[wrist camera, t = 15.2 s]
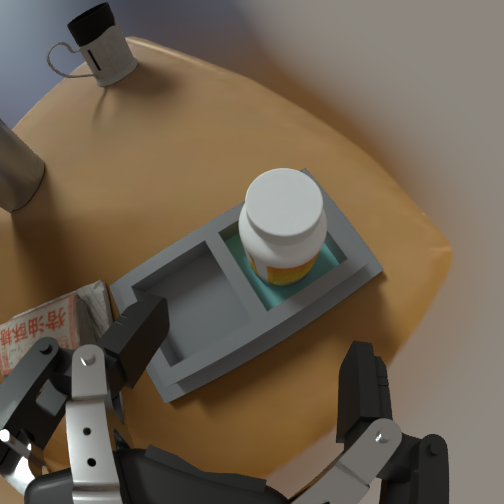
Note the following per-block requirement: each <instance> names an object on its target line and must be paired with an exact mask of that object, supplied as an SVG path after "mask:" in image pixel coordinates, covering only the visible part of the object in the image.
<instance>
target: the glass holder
mask: <svg viewBox="0 0 504 504" xmlns="http://www.w3.org/2000/svg"><path fill="white" fill-rule="evenodd" d="M67 27H68V29H69V30H70V32H71V34H72V36H73V37H74V39H75V41H76V43H77V45H78V50H76V51H73V50H72V49H71V47H70V46H69V45H68V44H66V43H65V42H59V43H56V44H54V45H53V46H52V47H51V48H50V50H49V51H48V53H47V62H48V64H49V66H50V67H51V68H52V70H53V71H55V72H56V73H57V74H59V75H61V76H64V77H67V78H76V77H88V76H94V77H95V79H96V80H97V81H96V82H97V85H98V86H100V87H103V86H108V85H111V84H113V83H115V82H117V81H119V80H121V79H123V78H124V77H126V76H127V75H128V74H130V73H131V72H132V71H133V70H134V69H135V68H136V66H137V64H138V60H137V59H136V58H134V57H133V55H132V53H131V51H130V49H129V46H128V44H127V42H126V40H125V38H124V35H123V33H122V31H121V29H120V26H119V24H118V22H117V20H116V18H115V16H114V13H112V11H111V9H110V7H109V4H108V2H105V3H102V4H100V5H97V6H95V7H93V8H91V9H89V10H87V11H86V12H84V13H82V14H81V15H79V16H78V17H76V18H75V19H74V20H72V21H71V22H70V23H69V24H68V25H67ZM59 44H62V45H65V46H66V47H67V48H68V49H69V51H70V52H71V53H76V52H78V51H80V52H81V54H82V55H83V57H84V59H85V61H86V62H87V64H88V66H89V67H90V69H91V71H92V72H93V74H87V75H77V76H71V75H66V74H63V73H61V72H59V71H58V70H56V69H55V68H54V67H53V65H52V64H51V62H50V60H49V54H50V52H51V50H52V49H53V48H54V47H55V46H56V45H59Z"/></svg>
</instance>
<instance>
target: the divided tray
mask: <svg viewBox="0 0 504 504" xmlns="http://www.w3.org/2000/svg"><path fill="white" fill-rule="evenodd" d="M299 172H302V173H304V174H306V175H307V176H309V177H310V178H311V179H312V180H313V181H314V182H315V183H316V184H317V186H318V187H319V189H320V191H321V194H322V197H323V209H324V211H325V214H326V218H327V233H326V238H325V241H324V244H323V246H322V248H321V250H320V252H319V255H318V256H317V258H316V260H315V262H314V265H313V267H312V269H311V270H310V272H309V273H308V275H307V276H306V277H305V278H304V279H303V280H302V281H300V282H299V283H297V284H295V285H292V286H288V287H275V286H271V285H268V284H266V283H264V282H263V281H261V280H260V279H259V278H258V277H257V276H256V275H255V274H254V272H253V270H252V269H251V267H250V264H249V261H248V258H247V255H246V252H245V250H244V247H243V244H242V241H241V238H240V233H239V217H240V213H241V210H242V208H243V206H244V204H245V201H244V202H242V203H240V204H238V205H237V206H235V207H233V208H232V209H230V210H228V211H226V212H225V213H223V214H221V215H220V216H218V217H216V218H215V219H213V220H211V221H210V222H208V223H206V224H205V225H203V226H201V227H200V228H198V229H196V230H195V231H193V232H191V233H190V234H188V235H186V236H185V237H183V238H182V239H180V240H178V241H177V242H175V243H174V244H172V245H170V246H169V247H167V248H166V249H164V250H162V251H161V252H159V253H158V254H156V255H155V256H153V257H152V258H150V259H148V260H147V261H145V262H144V263H142V264H141V265H139V266H138V267H136V268H135V269H133V270H132V271H130V272H129V273H127V274H126V275H124V276H123V277H121V278H120V279H118V280H117V281H116V282H115V283H113V284H112V285H110V286H109V287H110V290H111V293H112V295H113V298H114V300H115V303H116V305H117V308H118V310H119V313H120V315H121V314H122V312H123V311H124V310H125V309H126V308H127V307H128V306H130V305H132V304H134V303H135V302H137V301H138V302H142V301H143V300H144V299H145V297H146V296H147V295H148V294H154V295H157V296H161V297H164V298H166V299H167V303H168V312H169V321H170V328H169V332H168V335H167V336H166V338H165V340H164V341H163V343H162V344H161V346H160V347H159V349H158V350H157V352H156V353H155V355H154V356H153V358H152V359H151V361H150V362H149V364H148V366H147V367H146V370H147V372H148V374H149V376H150V378H151V380H152V382H153V383H154V385H155V387H156V389H157V391H158V392H159V394H160V396H161V397H162V399H163V401H164V403H165V404H166V403H168V402H170V401H172V400H175V399H177V398H179V397H181V396H183V395H185V394H187V393H189V392H191V391H193V390H195V389H197V388H199V387H201V386H203V385H205V384H207V383H209V382H211V381H213V380H215V379H217V378H218V377H220V376H222V375H224V374H226V373H228V372H230V371H231V370H233V369H235V368H237V367H239V366H240V365H242V364H244V363H246V362H247V361H249V360H251V359H253V358H254V357H256V356H258V355H259V354H261V353H263V352H264V351H266V350H268V349H269V348H271V347H273V346H274V345H276V344H278V343H279V342H281V341H283V340H284V339H286V338H287V337H289V336H290V335H292V334H294V333H295V332H297V331H298V330H300V329H301V328H303V327H304V326H306V325H307V324H309V323H310V322H312V321H313V320H315V319H316V318H318V317H319V316H321V315H322V314H324V313H325V312H327V311H328V310H330V309H331V308H332V307H334V306H335V305H337V304H338V303H340V302H341V301H342V300H344V299H345V298H347V297H348V296H349V295H351V294H352V293H353V292H355V291H356V290H357V289H359V288H360V287H361V286H363V285H364V284H365V283H367V282H368V281H369V280H371V279H372V278H373V277H375V276H376V275H377V274H378V273H380V272H381V271H382V270H384V269H383V268H382V266H381V265H380V263H379V262H378V260H377V259H376V257H375V256H374V255H373V253H372V252H371V250H370V249H369V248H368V246H367V245H366V243H365V242H364V241H363V239H362V238H361V237H360V235H359V234H358V233H357V231H356V230H355V229H354V227H353V226H352V225H351V223H350V222H349V221H348V219H347V218H346V217H345V216H344V214H343V213H342V212H341V210H340V209H339V208H338V207H337V205H336V204H335V203H334V202H333V200H332V199H331V198H330V197H329V195H328V194H327V193H326V192H325V191H324V189H323V188H322V187H321V186H320V185H319V183H318V182H317V181H316V180H315V179H314V178H313V176H312V175H311V174H310V173H309V172H308V171H307V169H306V168H305V169H303V170H301V171H299Z"/></svg>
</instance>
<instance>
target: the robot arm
mask: <svg viewBox="0 0 504 504" xmlns="http://www.w3.org/2000/svg"><path fill="white" fill-rule="evenodd" d="M43 173H44V162H43V160H42V159H41V158H40V157H39V156H38V155H37V154H36V153H34V152H33V151H32V150H31V149H30V148H29V147H28V146H27V145H26V144H25V143H24V142H23V141H22V140H21V139H20V138H19V137H18V136H17V135H16V134H15V133H14V132H13V131H12V130H11V129H10V128H9V127H8V126H7V125H6V124H5V123H4V122H3V121H2V120H1V119H0V207H1V208H3V209H4V210H6V211H8V212H9V213H11V212H12V211H13V210H16V209H19V208H21V207H23V206H24V205H25V204H26V203H27V202H28V201H29V200H30V198H31V197H32V196H33V194H34V193H35V191H36V189H37V188H38V186H39V184H40V182H41V179H42V176H43ZM169 328H170V321H169V312H168V303H167V299H166V298H164V297H161V296H157V295H154V294H148V295H147V296H146V297H145V299H144V300H143V301H142V302H138V301H137V302H135V303H134V304H132V305H130V306H128V307H127V308H126V309H125V310H124V311H123V312H122V314H121V316H119V317H118V318H117V319H116V321H115V322H114V323H113V324H112V325H111V326H110V327H109V328H108V329H107V331H106V332H105V333H104V334H103V335H102V336H101V338H100V339H99V340H98V341H97V342H96V343H95V344H94V345H91V344H89V345H84V346H81V347H80V348H78V349H77V350H72V349H66V348H61V347H60V346H59V344H58V342H57V340H56V339H55V338H53V337H43V338H40V339H39V340H37V341H36V342H35V343H34V345H33V346H32V347H31V348H30V349H29V350H28V352H27V353H26V354H25V355H24V356H23V358H22V359H21V360H20V361H19V362H18V364H17V365H16V366H15V367H14V369H13V370H12V371H11V372H10V374H9V375H8V376H7V378H6V379H5V380H4V382H3V383H2V384H1V385H0V474H1V475H2V476H3V477H4V478H5V479H6V480H7V481H8V482H9V483H10V484H11V485H12V486H13V487H14V488H15V489H16V490H17V491H19V492H20V493H21V494H22V495H23V496H24V502H25V503H24V504H357V503H358V502H359V501H360V500H361V499H362V498H363V497H364V495H365V494H366V493H367V492H368V490H369V488H370V486H369V484H370V483H371V481H372V480H373V479H374V478H375V477H377V478H381V479H382V482H381V492H380V500H379V504H449V464H448V449H447V444H446V442H445V440H444V439H443V438H442V437H441V436H439V435H436V434H430V435H427V436H425V437H424V438H423V439H419V438H415V437H412V436H409V435H406V434H404V433H402V432H401V429H400V427H399V426H398V425H397V424H396V423H395V422H394V421H393V418H392V409H391V400H390V391H389V387H388V386H389V384H388V379H387V377H388V376H387V370H386V366H385V364H384V362H383V361H382V359H381V357H379V356H374V353H373V346H372V344H371V343H368V342H361V341H353V343H352V344H351V347H350V349H349V351H348V353H347V355H346V356H345V358H344V360H343V362H342V364H341V367H340V371H339V387H338V417H337V435H336V443H344V451H343V452H342V453H340V455H339V456H338V457H337V458H336V459H335V460H334V461H333V462H332V463H330V464H329V465H328V466H327V467H326V468H325V469H324V470H323V471H322V472H321V473H320V474H319V475H318V476H317V477H315V478H314V479H313V480H312V481H311V482H310V483H308V484H307V485H306V486H305V487H303V488H302V489H301V490H300V491H298V492H297V493H296V494H295V495H293V496H292V497H291V498H289V499H287V498H286V497H285V496H284V495H283V494H281V493H279V492H278V491H277V490H275V489H273V488H271V487H269V486H267V485H266V481H267V480H265V479H259V478H254V477H249V476H245V475H240V474H230V473H211V472H203V471H201V470H199V469H197V468H196V467H194V466H192V465H191V464H189V463H187V462H186V461H184V460H183V459H181V458H180V457H178V456H177V455H174V454H171V453H169V452H166V451H164V450H161V449H159V448H156V447H154V446H152V445H149V447H148V449H135V448H134V444H133V441H132V438H131V436H130V433H129V431H128V427H127V423H126V418H125V412H124V407H123V401H122V395H121V389H122V388H123V386H124V385H125V386H127V387H129V388H131V389H133V387H134V386H135V384H136V383H137V381H138V380H139V378H140V376H141V375H142V373H143V372H144V370H145V369H146V367H147V366H148V364H149V362H150V361H151V359H152V358H153V356H154V355H155V353H156V352H157V350H158V349H159V347H160V346H161V344H162V343H163V341H164V340H165V338H166V336H167V335H168V332H169ZM47 380H49V383H48V384H47V385H46V387H45V388H44V390H43V391H42V392H41V394H40V395H39V397H38V398H37V400H36V396H37V394H38V392H39V391H40V389H41V388H42V387H43V385H44V384H45V382H46V381H47ZM65 413H66V424H67V438H68V448H69V456H70V463H71V468H67V469H64V470H60V471H57V472H53V473H49V474H45V475H42V469H44V468H45V466H46V462H45V460H44V454H43V450H44V448H45V446H46V445H47V443H48V441H49V439H50V438H51V436H52V434H53V433H54V431H55V429H56V428H57V426H58V424H59V423H60V421H61V419H62V418H63V416H64V414H65Z"/></svg>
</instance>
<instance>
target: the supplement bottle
mask: <svg viewBox="0 0 504 504" xmlns="http://www.w3.org/2000/svg"><path fill="white" fill-rule="evenodd" d="M239 233H240V238H241V241H242V244H243V247H244V250H245V252H246V255H247V258H248V261H249V264H250V267H251V269H252V270H253V272H254V274H255V275H256V276H257V277H258V278H259V279H260V280H261V281H263V282H264V283H266V284H268V285H271V286H275V287H288V286H292V285H295V284H297V283H299V282H300V281H302V280H303V279H304V278H305V277H306V276H307V275H308V273H309V272H310V270H311V269H312V267H313V265H314V262H315V260H316V258H317V256H318V255H319V252H320V250H321V248H322V246H323V244H324V241H325V238H326V233H327V218H326V214H325V211H324V209H323V197H322V194H321V191H320V189H319V187H318V186H317V184H316V183H315V182H314V181H313V180H312V179H311V178H310V177H309V176H307V175H306V174H304V173H302V172H299V171H297V170H293V169H286V168H281V169H274V170H270V171H267V172H265V173H263V174H261V175H260V176H258V177H257V178H256V179H255V180H254V181H253V182H252V184H251V185H250V187H249V188H248V190H247V193H246V198H245V204H244V206H243V208H242V210H241V213H240V217H239Z"/></svg>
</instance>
